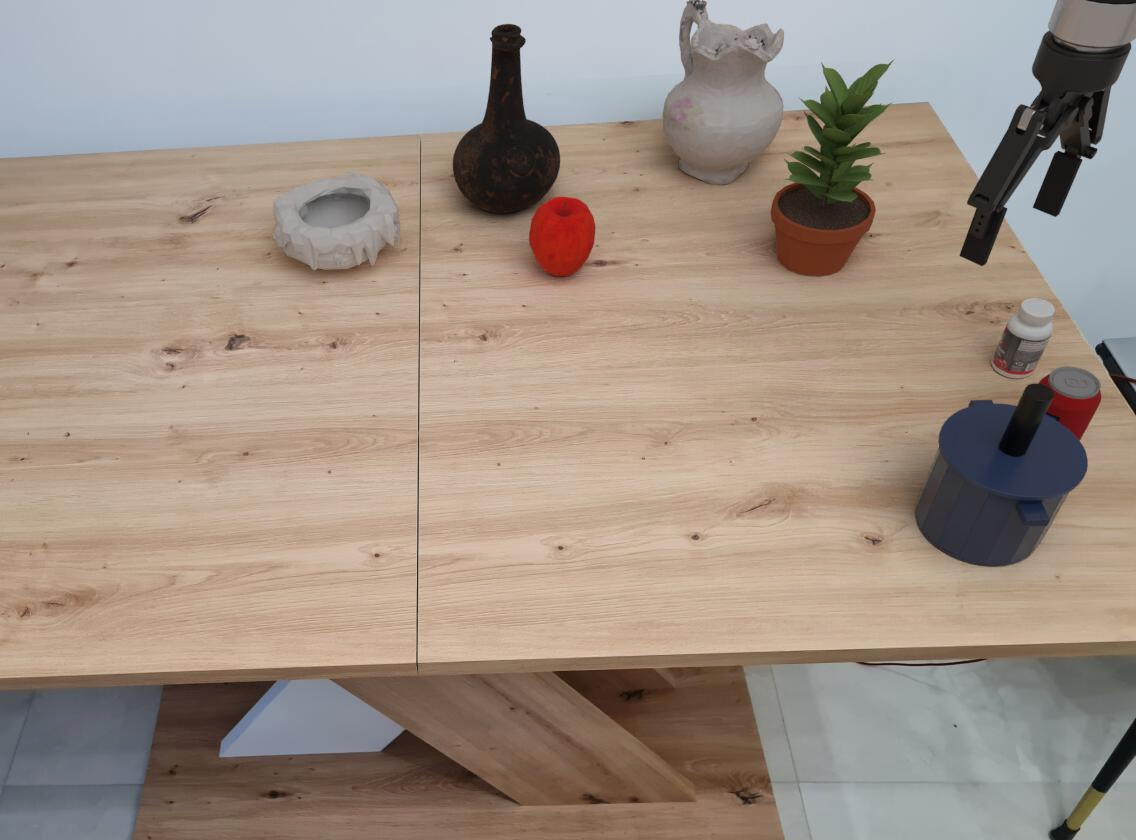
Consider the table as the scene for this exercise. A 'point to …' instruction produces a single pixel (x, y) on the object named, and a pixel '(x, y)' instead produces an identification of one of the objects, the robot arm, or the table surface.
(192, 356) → the table surface
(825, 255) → the potted plant
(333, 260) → the bowl
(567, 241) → the apple
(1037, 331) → the pill bottle
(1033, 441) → the lid
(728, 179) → the ceramic pitcher
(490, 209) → the glass bottle
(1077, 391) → the beverage can
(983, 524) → the pot
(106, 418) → the table surface
